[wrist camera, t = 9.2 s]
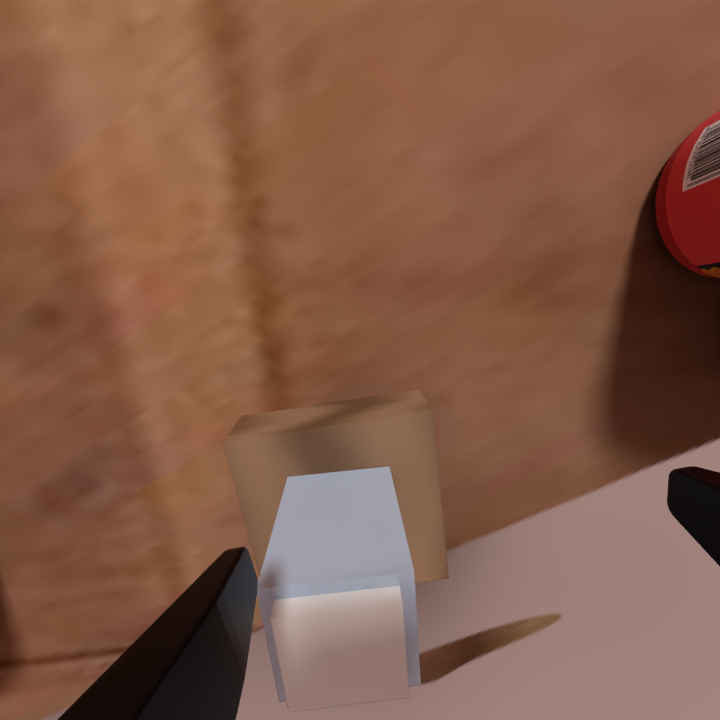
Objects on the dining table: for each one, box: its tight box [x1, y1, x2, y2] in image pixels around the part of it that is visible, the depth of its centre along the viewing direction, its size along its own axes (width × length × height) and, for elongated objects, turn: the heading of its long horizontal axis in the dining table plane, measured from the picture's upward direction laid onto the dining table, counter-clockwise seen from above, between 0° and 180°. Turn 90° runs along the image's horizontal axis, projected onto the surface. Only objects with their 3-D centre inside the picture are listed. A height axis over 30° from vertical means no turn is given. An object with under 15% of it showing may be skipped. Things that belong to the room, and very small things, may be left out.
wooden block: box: [223, 389, 449, 583], centre depth 19 cm, size 10×10×4 cm
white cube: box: [257, 466, 421, 712], centre depth 14 cm, size 5×5×7 cm
